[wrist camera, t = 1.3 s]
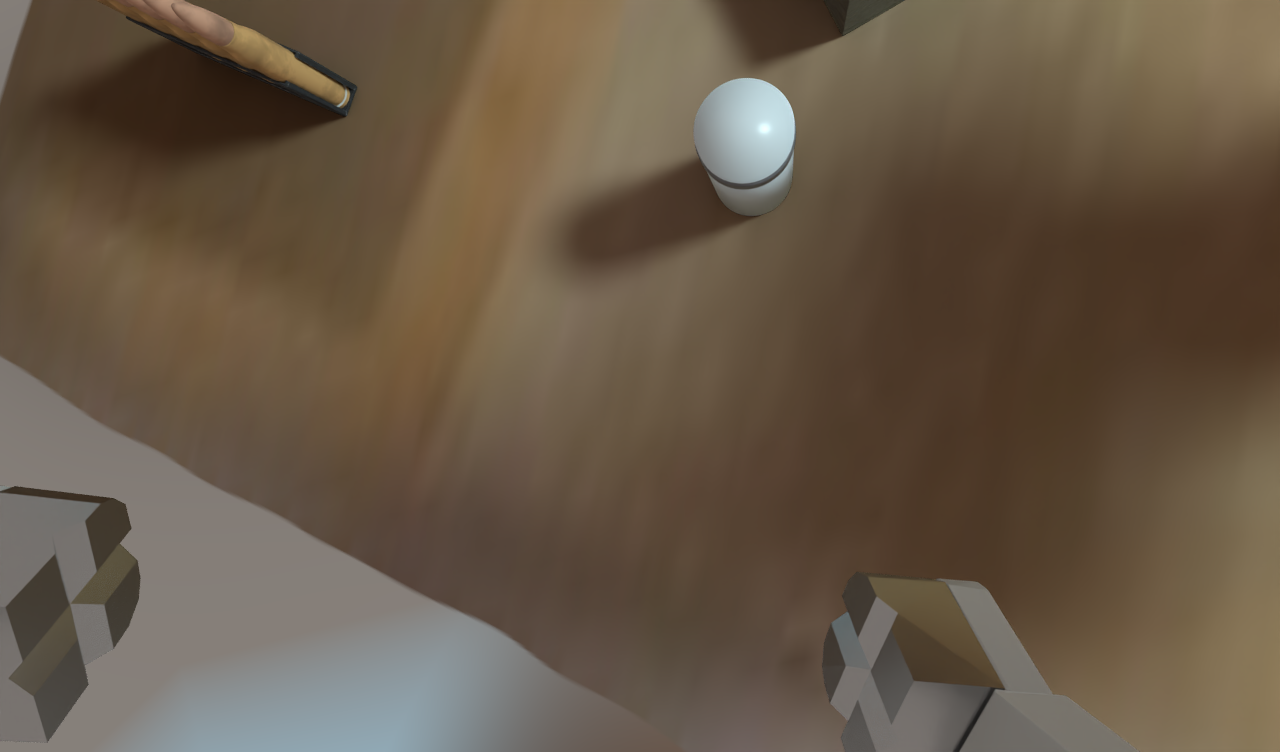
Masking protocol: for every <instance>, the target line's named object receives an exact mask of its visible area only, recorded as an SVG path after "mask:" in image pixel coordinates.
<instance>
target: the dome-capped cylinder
mask: <svg viewBox="0 0 1280 752" xmlns="http://www.w3.org/2000/svg"><path fill="white" fill-rule="evenodd" d="M795 139H796V125H795V119H794V115H793V111H792V108H791V106H790V104H789V102H788V100H787V99H786V97H785V96H784V95H783V94H782V92H781V91H779V90H778V89H777V88H776V87H774V86H773V85H771V84H769V83H767V82H765V81H762V80H759V79H754V78H740V79H735V80H732V81H729V82H726V83H724V84H722V85H720V86H719V87H717V88H716V89H715V90H713V91H712V92H711V93H710V94H709V95H708V96H707V97H706V98H705V100H704V101H703V103H702V104H701V106H700V108H699V110H698V112H697V115H696V118H695V122H694V141H695V147H696V151H697V154H698V156H699V159H700V161H701V163H702V165H703V167H704V168H705V170H706V171H707V173H708V175H709V177H710V179H711V182H712V184H713V186H714V188H715V190H716V192H717V195H718V197H719V198H720V200H721V201H722V202H723V204H724V205H725V206H726V207H727V208H729V209H730V210H731V211H733V212H735V213H738V214H740V215H745V216H758V215H763V214H766V213H768V212H770V211H772V210H773V209H775V208H776V207H778V206H779V205H780V204H781V203H782V202H783V200H784V199H785V198H786V196H787V194H788V193H789V190H790V188H791V184H792V177H793V156H794V147H795Z"/></svg>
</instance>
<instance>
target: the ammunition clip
mask: <svg viewBox="0 0 1280 752" xmlns="http://www.w3.org/2000/svg"><path fill="white" fill-rule="evenodd" d="M96 1H98V2H100V3H102V4H104V5H106V6H108V7H110V8H112V9H114V10H116V11H118V12H120V13H122V14H124V15H126V18H127V19H128V20H130V21H132V22H134V23H136V24H138V25H140V26H142V27H144V28H146V29H149V30H151V31H153V32H155V33H157V34H159V35H161V36H163V37H165V38H167V39H169V40H171V41H173V42H175V43H177V44H179V45H181V46H183V47H185V48H187V49H189V50H191V51H193V52H195V53H198V54H200V55H202V56H205V57H207V58H209V59H212V60H214V61H216V62H219V63H221V64H223V65H226V66H228V67H230V68H233V69H235V70H237V71H240V72H242V73H244V74H246V75H249V76H251V77H253V78H256V79H258V80H260V81H263V82H265V83H267V84H270V85H272V86H274V87H277V88H279V89H281V90H284V91H286V92H288V93H291V94H293V95H295V96H298V97H300V98H302V99H305V100H307V101H309V102H312V103H314V104H316V105H319V106H321V107H323V108H326V109H328V110H330V111H333V112H335V113H337V114H340V115H342V116H347V113H348V111H349V108H350V105H351V103H352V100H353V97H354V94H355V92H356V89H357V86H356V85H354V84H353V83H351V82H349V81H347V80H346V79H344V78H342V77H341V76H339V75H337V74H336V73H334V72H332V71H330V70H329V69H327V68H325V67H324V66H322V65H320V64H318V63H317V62H315V61H313V60H312V59H310V58H308V57H307V56H305V55H303V54H301V53H300V52H298V51H296V50H293V49H291V48H288V47H286V46H284V45H281V44H279V43H276V42H274V41H272V40H270V39H269V38H267V37H265V36H263V35H262V34H260V33H258V32H256V31H254V30H252V29H250V28H247V27H243V26H240V25H237V24H235V23H233V22H231V21H230V20H227V19H225V18H223V17H221V16H219V15H217V14H215V13H213V12H210V11H208V10H206V9H203V8H201V7H198V6H195V5H192V4H190V3H188V2H186V1H184V0H96Z"/></svg>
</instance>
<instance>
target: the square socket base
mask: <svg viewBox="0 0 1280 752" xmlns="http://www.w3.org/2000/svg"><path fill="white" fill-rule="evenodd" d="M903 1H904V0H824V2H825V4H826V6H827V8H828V10H829V12H830V13H831V15H832V17H833V19H834V21H835V23H836V25H837V27H838V29H839V30H840V32H841V34H842V36H844V35H846V34H847V33H849V32H851V31H853V30H854V29H856V28H858V27H859V26H861V25H863V24H865V23H866V22H868V21H870V20H871V19H873V18H875V17H877V16H878V15H880V14H882V13H884V12H885V11H887V10H889V9H890V8H892V7H894V6H896V5H897V4H899V3H901V2H903Z"/></svg>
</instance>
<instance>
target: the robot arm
mask: <svg viewBox="0 0 1280 752" xmlns="http://www.w3.org/2000/svg"><path fill="white" fill-rule="evenodd" d="M130 530H131V525H130V521H129V517H128V513H127V509H126V505H125V504H124V503H122V502H120V501H118V500H116V499H114V498H107V497H99V496H90V495H82V494H74V493H66V492H57V491H49V490H41V489H33V488H24V487H16V486H14V487H7V486H0V741H16V742H48V741H49V739H50V738H51V737H52V735H53V734H54V733H55V731H56V730H57V728H58V727H59V725H60V724H61V723H62V721H63V720H64V718H65V717H66V716H67V714H68V713H69V711H70V710H71V709H72V707H73V706H74V704H75V703H76V701H77V700H78V698H79V697H80V696H81V694H82V693H83V692H84V690H85V689H86V687H87V686H88V679H87V674H86V669H85V665H86V664H88V663H90V662H92V661H93V660H95V659H97V658H99V657H100V656H102V655H104V654H105V653H107V652H109V651H111V650H112V649H114V647H115V646H116V644H117V643H118V641H119V640H120V639H121V637H122V636H123V634H124V632H125V631H126V629H127V628H128V627H129V624H130V621H131V619H132V616H133V613H134V611H135V608H136V605H137V602H138V599H139V589H140V588H139V587H140V574H139V567H138V561H137V560H136V559H135V558H134V557H133V556H132V555H131V554H130V553H129V552H128V551H127V550H126V549H125V548H124V547H123V546H122V545H121V544H120V542H121V541H122V540H123V539H124V537H125V536H126V535H127V533H128V532H129V531H130ZM842 597H843V600H844V602H845V605H846V608H847V610H848V611H847V612H846V613H844V614H843V615H842V616H840V617H839V618H837V619H836V620H835V621H833V622H832V623H831V625H830V628H829V630H828V633H827V636H826V639H825V642H824V649H823V663H822V668H823V676H824V684H825V687H826V691H827V694H828V698H829V701H830V704H831V705H832V706H833V707H834V708H835V709H836V710H837V711H838V712H839V713H840V714H841V715H842V716H843V717H844V718H845V719H846V720H847V721H848V722H847V725H846V727H845V729H844V731H843V734H842V736H841V740H842V743H843V746H844V749H845V752H1140V751H1138V750H1137V749H1136V748H1134V747H1133V746H1132V745H1130V744H1129V743H1128V742H1126V741H1125V740H1124V739H1122V738H1121V737H1120V736H1118V735H1117V734H1116V733H1114V732H1113V731H1112V730H1111V729H1109V728H1108V727H1107V726H1105V725H1104V724H1103V723H1101V722H1100V721H1099V720H1097V719H1096V718H1095V717H1093V716H1092V715H1091V714H1089V713H1088V712H1087V711H1085V710H1084V709H1083V708H1081V707H1080V706H1079V705H1077V704H1076V703H1075V702H1074V701H1072V700H1071V699H1070V698H1068V697H1067V696H1064V695H1054V694H1052V692H1051V690H1050V689H1049V687H1048V686H1047V684H1046V682H1045V681H1044V679H1043V678H1042V676H1041V674H1040V673H1039V671H1038V670H1037V668H1036V666H1035V665H1034V663H1033V662H1032V660H1031V658H1030V657H1029V655H1028V654H1027V652H1026V650H1025V649H1024V647H1023V645H1022V644H1021V642H1020V641H1019V639H1018V637H1017V636H1016V634H1015V633H1014V631H1013V629H1012V628H1011V626H1010V625H1009V623H1008V621H1007V620H1006V618H1005V617H1004V615H1003V613H1002V612H1001V610H1000V609H999V607H998V605H997V604H996V602H995V601H994V599H993V597H992V596H991V594H990V592H989V591H988V590H987V589H986V588H985V587H984V586H982V585H981V584H980V583H978V582H975V581H963V580H950V579H930V578H919V577H908V576H897V575H886V574H875V573H864V572H856V573H855V574H854V575H853V576H852V577H851V578H850V579H849V581H848V583H847V586H846V588H845V590H844V593H843V595H842Z"/></svg>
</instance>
